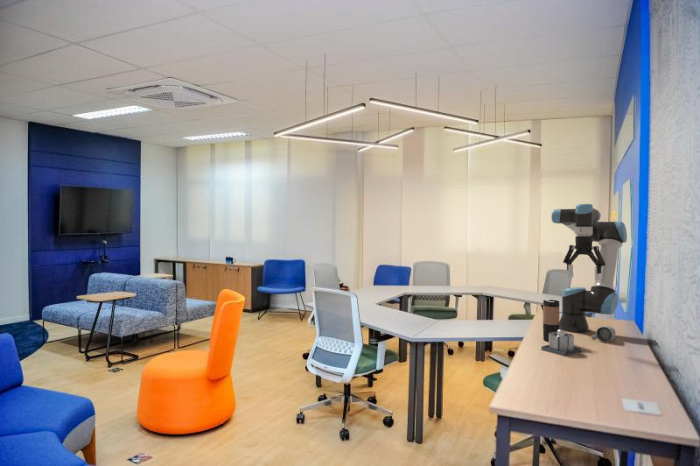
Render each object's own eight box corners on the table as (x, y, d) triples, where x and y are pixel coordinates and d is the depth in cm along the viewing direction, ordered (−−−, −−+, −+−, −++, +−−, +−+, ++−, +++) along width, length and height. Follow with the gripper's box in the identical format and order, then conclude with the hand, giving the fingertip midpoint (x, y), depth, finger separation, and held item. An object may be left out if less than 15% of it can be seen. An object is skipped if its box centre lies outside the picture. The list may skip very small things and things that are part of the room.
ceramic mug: (616, 340, 235) (616, 325, 235) (612, 343, 229) (612, 327, 229) (593, 337, 242) (593, 322, 242) (589, 340, 236) (588, 325, 236)
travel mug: (557, 343, 230) (557, 302, 230) (540, 340, 235) (541, 301, 234) (560, 339, 236) (561, 300, 236) (545, 337, 241) (545, 299, 240)
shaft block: (556, 345, 225) (557, 326, 225) (580, 351, 215) (580, 331, 215) (541, 349, 219) (541, 329, 218) (565, 355, 208) (565, 334, 208)
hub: (557, 343, 224) (557, 331, 224) (577, 348, 215) (577, 335, 215) (544, 346, 218) (544, 333, 218) (564, 351, 210) (564, 338, 210)
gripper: (556, 235, 237) (555, 276, 237) (605, 236, 216) (604, 282, 216) (564, 234, 241) (564, 275, 241) (613, 236, 220) (613, 281, 220)
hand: (583, 279), depth 229 cm, fingers open, 13 cm apart
